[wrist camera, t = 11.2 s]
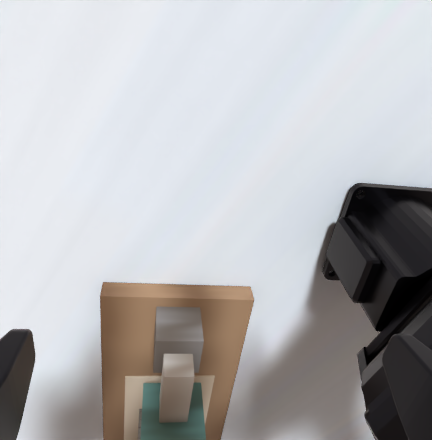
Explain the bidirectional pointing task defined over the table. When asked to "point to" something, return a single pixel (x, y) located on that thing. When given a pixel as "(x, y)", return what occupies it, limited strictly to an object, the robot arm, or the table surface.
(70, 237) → the table surface
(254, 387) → the table surface
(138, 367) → the shaft coupling stand
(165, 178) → the table surface
